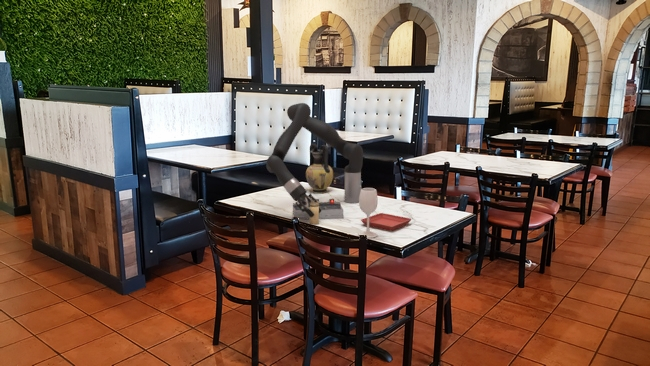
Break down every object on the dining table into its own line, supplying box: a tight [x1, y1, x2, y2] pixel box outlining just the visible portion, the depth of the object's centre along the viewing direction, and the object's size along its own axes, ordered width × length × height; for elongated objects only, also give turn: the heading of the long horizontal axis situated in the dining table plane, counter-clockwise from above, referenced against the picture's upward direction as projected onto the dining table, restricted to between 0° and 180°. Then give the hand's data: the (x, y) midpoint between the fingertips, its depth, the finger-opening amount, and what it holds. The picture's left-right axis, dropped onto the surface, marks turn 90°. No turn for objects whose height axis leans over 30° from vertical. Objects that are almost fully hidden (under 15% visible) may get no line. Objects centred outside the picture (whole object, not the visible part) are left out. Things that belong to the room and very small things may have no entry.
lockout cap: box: [309, 202, 320, 226], centre depth 242 cm, size 4×4×10 cm
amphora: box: [305, 143, 334, 194], centre depth 310 cm, size 18×17×30 cm
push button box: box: [292, 198, 345, 221], centre depth 256 cm, size 25×13×7 cm, turn 97°
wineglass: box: [357, 187, 378, 239], centre depth 222 cm, size 9×9×21 cm
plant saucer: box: [360, 212, 412, 232], centre depth 240 cm, size 18×18×3 cm
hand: (316, 214), depth 242 cm, fingers open, 8 cm apart
